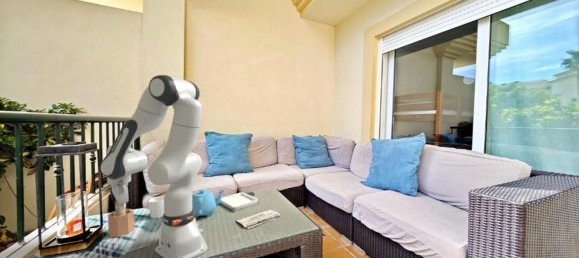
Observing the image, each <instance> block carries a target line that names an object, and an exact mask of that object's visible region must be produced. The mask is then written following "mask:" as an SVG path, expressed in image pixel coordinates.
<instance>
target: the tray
mask: <svg viewBox="0 0 579 258" xmlns="http://www.w3.org/2000/svg"><path fill="white" fill-rule="evenodd" d="M259 204H260V199H259V198H256V197H254V196H252V195H250V194H248V193H245V192H243V191H241V192H238V193H237V192H236V193H235V194H229V195H227V196H226V195H225V196H222V197H221V202H220V203H219V205H222V206H224V207H226V208H227V209H229V210H231V211H232V212H238V211H242V210H243V209H247V208H250V207H252V206H256V205H259Z"/></svg>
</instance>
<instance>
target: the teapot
mask: <svg viewBox="0 0 579 258" xmlns="http://www.w3.org/2000/svg"><path fill="white" fill-rule="evenodd" d="M198 190H199V191H195V192H194V193H192V208H193V210H194V217H195V219H196V218H199V217H200V216H201V217H202V216H205V217H206V218H210V217H211V216H212V214H213V212H214V211H216V209H217V207H218V205H220V202H221V198H222V197H223V195H222V194H223V193H224V191H225V190H226V188H223V189H220V190H219V192H218V197H217V198H216V196H215V195H214V194H213V193H212V191H210V190H207V189H206V188H201V189H198Z"/></svg>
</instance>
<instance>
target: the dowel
mask: <svg viewBox="0 0 579 258" xmlns="http://www.w3.org/2000/svg"><path fill="white" fill-rule="evenodd" d="M114 208H115V209H114V211H115V214H116V217H118V216H122V215H126V209H127V203H124V209H123V210H119V204H118V202H117V200H116V199H115V200H114Z"/></svg>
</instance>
